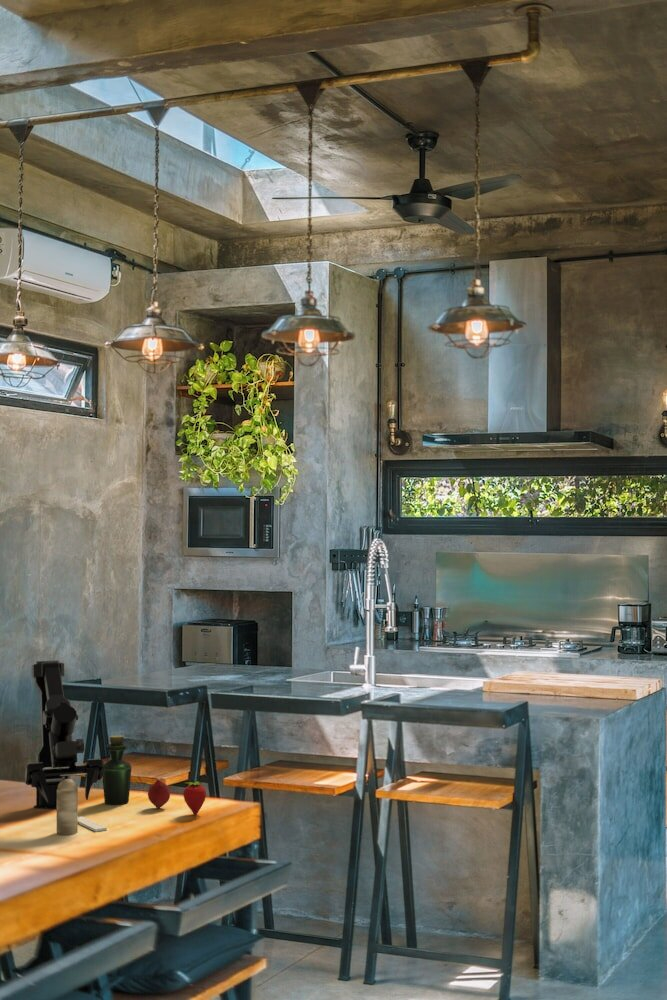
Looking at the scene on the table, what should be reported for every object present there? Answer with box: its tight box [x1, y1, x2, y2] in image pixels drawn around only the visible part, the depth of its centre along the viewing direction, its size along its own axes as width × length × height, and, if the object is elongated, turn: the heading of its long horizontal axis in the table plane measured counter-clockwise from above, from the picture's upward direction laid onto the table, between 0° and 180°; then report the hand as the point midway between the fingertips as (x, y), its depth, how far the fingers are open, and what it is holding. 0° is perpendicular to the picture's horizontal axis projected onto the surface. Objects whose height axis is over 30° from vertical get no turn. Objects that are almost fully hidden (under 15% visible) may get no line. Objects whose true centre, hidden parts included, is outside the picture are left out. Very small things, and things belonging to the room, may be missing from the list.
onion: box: [147, 777, 171, 809], centre depth 324 cm, size 6×6×8 cm
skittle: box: [56, 778, 79, 836], centre depth 296 cm, size 5×5×13 cm
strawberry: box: [182, 780, 207, 815], centre depth 316 cm, size 6×8×10 cm
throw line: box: [78, 816, 108, 833], centre depth 304 cm, size 16×3×1 cm, turn 33°
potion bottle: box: [102, 734, 132, 806], centre depth 332 cm, size 8×8×18 cm
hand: (68, 800), depth 294 cm, fingers open, 9 cm apart
